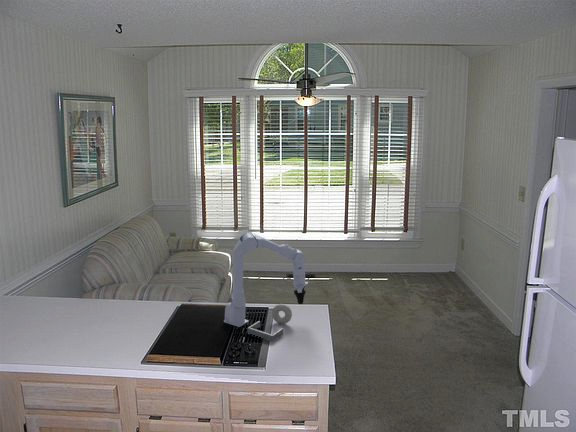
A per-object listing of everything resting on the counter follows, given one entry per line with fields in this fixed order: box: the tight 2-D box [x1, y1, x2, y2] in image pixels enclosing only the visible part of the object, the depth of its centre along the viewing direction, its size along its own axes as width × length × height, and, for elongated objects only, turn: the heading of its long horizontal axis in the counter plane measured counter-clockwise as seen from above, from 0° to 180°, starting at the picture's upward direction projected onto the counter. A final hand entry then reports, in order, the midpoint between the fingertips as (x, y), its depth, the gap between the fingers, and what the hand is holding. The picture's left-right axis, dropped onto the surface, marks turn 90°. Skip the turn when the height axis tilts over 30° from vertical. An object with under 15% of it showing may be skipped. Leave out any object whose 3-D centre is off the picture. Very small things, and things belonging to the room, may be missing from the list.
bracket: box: [247, 320, 284, 343], centre depth 235 cm, size 14×9×3 cm
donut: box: [271, 303, 293, 325], centre depth 246 cm, size 10×3×10 cm, turn 78°
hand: (300, 300), depth 250 cm, fingers open, 7 cm apart
